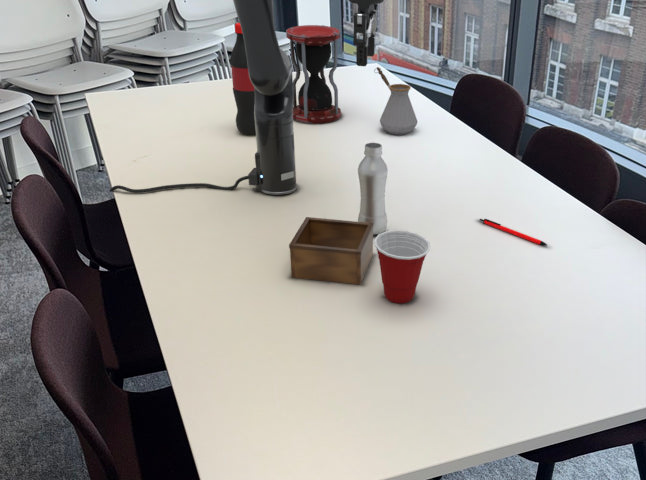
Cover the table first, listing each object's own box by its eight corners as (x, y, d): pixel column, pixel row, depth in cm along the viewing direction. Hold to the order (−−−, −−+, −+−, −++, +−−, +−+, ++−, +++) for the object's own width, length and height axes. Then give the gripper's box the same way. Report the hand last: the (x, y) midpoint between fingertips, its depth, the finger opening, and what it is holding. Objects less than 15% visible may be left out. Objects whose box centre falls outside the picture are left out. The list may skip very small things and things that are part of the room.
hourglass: (281, 119, 238) (276, 33, 222) (303, 105, 250) (300, 22, 235) (328, 126, 234) (327, 38, 218) (348, 112, 246) (348, 27, 230)
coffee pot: (423, 134, 230) (426, 82, 221) (389, 139, 226) (391, 86, 217) (392, 113, 245) (393, 64, 236) (359, 118, 241) (359, 68, 232)
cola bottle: (270, 130, 230) (262, 21, 212) (257, 138, 224) (248, 27, 205) (244, 126, 232) (235, 18, 214) (231, 134, 226) (220, 24, 207)
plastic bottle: (384, 239, 172) (386, 152, 160) (354, 236, 173) (354, 149, 161) (389, 227, 177) (391, 141, 165) (361, 224, 178) (361, 139, 166)
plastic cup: (409, 316, 146) (412, 260, 138) (362, 300, 150) (363, 244, 143) (437, 293, 153) (441, 238, 146) (391, 278, 158) (393, 224, 150)
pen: (481, 220, 181) (481, 216, 181) (548, 246, 171) (549, 241, 170) (478, 221, 181) (479, 217, 180) (546, 247, 171) (546, 243, 170)
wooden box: (290, 277, 157) (288, 244, 152) (307, 248, 168) (306, 216, 163) (361, 284, 155) (361, 251, 151) (373, 254, 166) (373, 223, 161)
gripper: (355, -31, 160) (355, 51, 170) (340, -20, 149) (341, 68, 159) (390, -29, 159) (388, 54, 169) (378, -18, 148) (376, 70, 158)
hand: (365, 60), depth 164 cm, fingers open, 8 cm apart
